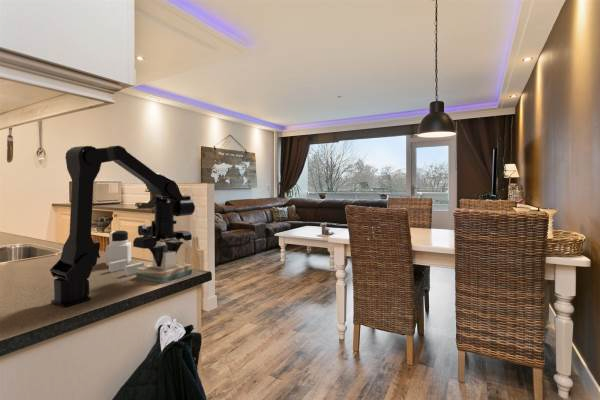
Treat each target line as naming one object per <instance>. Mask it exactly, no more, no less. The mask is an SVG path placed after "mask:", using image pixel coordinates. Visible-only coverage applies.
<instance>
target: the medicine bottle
mask: <svg viewBox="0 0 600 400" xmlns="http://www.w3.org/2000/svg"><path fill="white" fill-rule="evenodd" d="M108 235H109V240H108V241H109V244H107V245H106V246H105V265H106V266H108V267H109V263H111V262H115V261H120V260H124V259H127V260H128V264H129V263H130V262H131V261H132V243H131V241H129V233H128V231H126V230H113V231H111V232H110V233H109V234H108Z"/></svg>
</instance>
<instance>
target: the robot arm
mask: <svg viewBox="0 0 600 400" xmlns="http://www.w3.org/2000/svg"><path fill="white" fill-rule="evenodd" d="M108 162H109V163H110V162H114V163H115V164H117V165H118V166H120V167H121V168H122V169H124V170H125V171H126V172H128V173H129V174H131V175H132V176H134V177H135V178H137V179H138V180H139V181H141V182H143V184H145V186H146V187H145V188H146V189H147V190H148V191H149V192H151V194H152V195H153V197H152V198H151V199H150V200H149V201H147V204H148V205H154V220H151V225H150V226H147V225H146V224H142V225H139V226H137V234H138V235H139V237H138V236H137V237H135V238H134V239H133V241H132V247H133V248H139V249H144V250H145V249H146V250H147V249H148V250H149V251H150V252H151V254H152V258H153V257H154V259H155V261H156V264H157V266H158V267H160V266H161V263H162V256H163V249H164V246H161V245H162V243H164V244H165V245H168V250H169V251H176V254H177V253H178V251H179V250H180V247H181V246H182V245H184V241H187V242H188V241H192V233H191V232H190V231H188V230H176V231H175V228H174V227H175V226H174V225H176V224H177V220H175V217H185V216H186V217H187V216H191V215H193V214H194V213H195V211H196V210H195V209H196V206H195V203H194V201H193V200H192V197H191V196H190V195H183V194H182V193H181V191H180V190H179V189H178V185H177V183H176V181H175V180H173V179H171V178H169V177H167V176H165V175H162V174H161V173H157V172H155V171H154V170H153V169H151V168H150V167H149V166H147V165H146V164H145V163H144V162H142V161H141V160H140V159H138V158H137V157H136V156H134V155H132V154H131V152H129V151H128V150H127V149H126V148H125V147H123V146H122V145H110V146H107V147H101V148H100V147H99V148H96V147H94V146H92V145H83V146H82V145H81V146H74V147H71V148H69V149H68V150H67V151H66V153H65V163H66V170H67V172H68V174H69V176H70V178H71V196H70V197H71V198H70V215H69V216H70V219H69V234H68V237H67V239H66V241H65V242H64V245H63V247H62V250H61V254H60V259H58V261H56V263H55V264H54V265H53V266H52V267H51V268H50V269H49V272H50V274H51V276H52V277H53V279H54V280H53V291H54V296H53V297H54V299H51V300H50V303H51V304H54V305H57V306H60V307H62V308H66V307H71V306H72V305H76V304H80V303H83V302H86V301H89V300H92V296H90V280H89V278H90V276H91V273H92V271H93V268H94V267H95V266H96V265H97V262H98V259H100V258H101V256H100V248H101V243H100V242H99V241H94V239H93V237H92V224H93V223H92V222H93V206H94V205H93V203H94V184H95V180H96V178H97V177H98V175H99V173H100V170H101V167H102V164H103V163H108ZM159 197H161V198H159ZM182 239H183V241H181V240H182Z"/></svg>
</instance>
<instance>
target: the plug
mask: <svg viewBox="0 0 600 400" xmlns="http://www.w3.org/2000/svg"><path fill="white" fill-rule="evenodd" d="M161 246H164V249H163V256H162V263H161V266H160V267H158V266H157V264H156V261H155V259H154V257H153V256H152V264H153V268H158V269H163V270H168V269H171V268H175V267H176V262H177V260H176V259H177V253H176V251H169V250H168V245H166V244H161Z"/></svg>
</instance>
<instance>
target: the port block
mask: <svg viewBox="0 0 600 400" xmlns="http://www.w3.org/2000/svg"><path fill="white" fill-rule="evenodd" d="M191 273H193V264H191V263H190V264H189V263H184V262H179V261H178V262H177V261H176V267H175V268H171V269H168V270H163V269H158V268H153V263H151V264H150V263H149V264H147V265H144V266H142V267H138V268H136V274H135V276H136V278H137V279H142V280H147V281H150V282H156V283H159V282H160V283H159V284H164V283H167V282H170V281H173V280H172V279H174V280H176V278H177V279H179V277H180V278H183V277H185V275H186V276H188V274H189V275H192V274H191ZM182 276H183V277H182ZM169 280H170V281H169ZM166 281H167V282H166ZM163 282H164V283H163Z"/></svg>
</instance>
